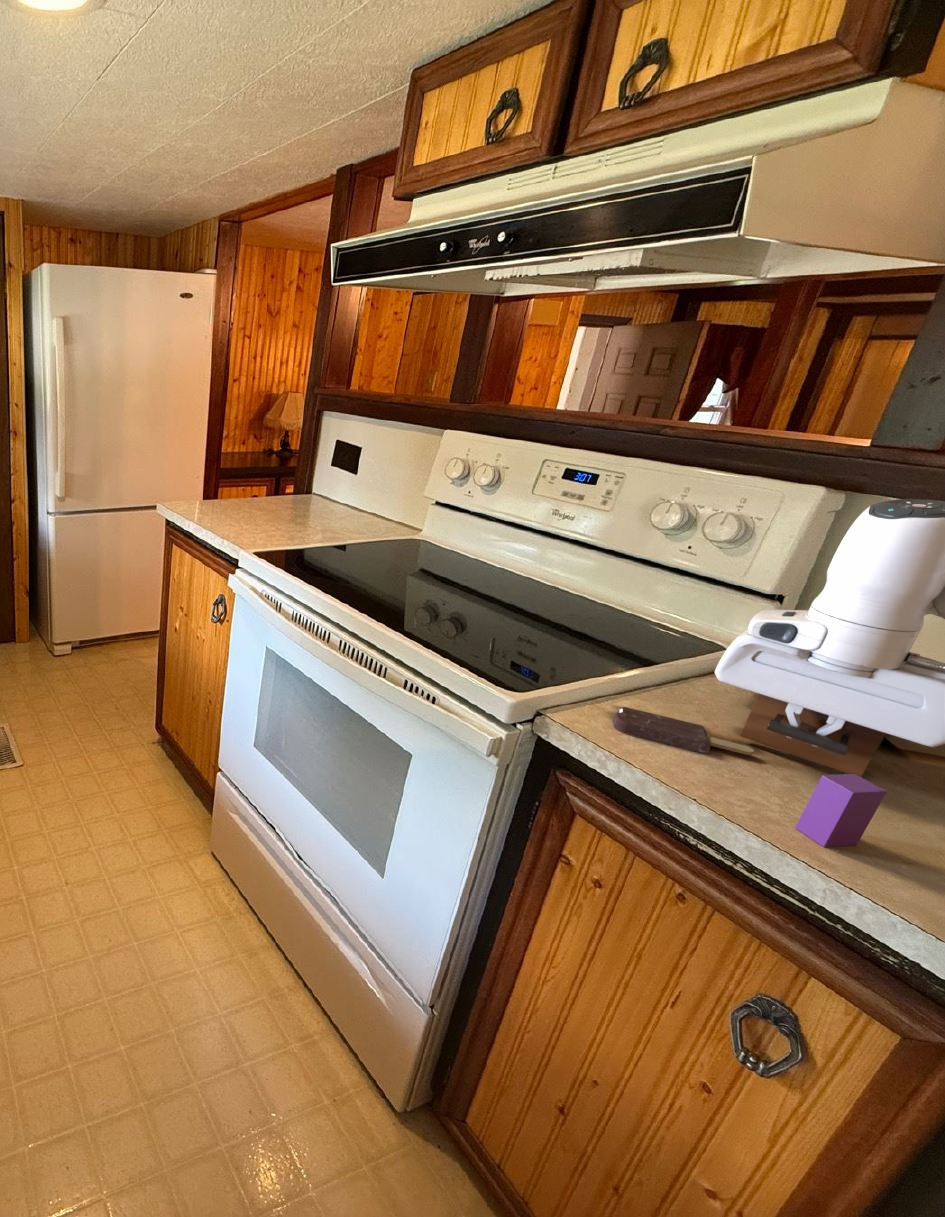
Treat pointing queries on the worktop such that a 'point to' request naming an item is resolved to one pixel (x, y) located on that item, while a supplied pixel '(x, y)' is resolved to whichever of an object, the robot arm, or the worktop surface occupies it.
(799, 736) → the drawer
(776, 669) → the robot arm
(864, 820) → the snack box
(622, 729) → the ice cream bar
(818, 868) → the worktop surface
